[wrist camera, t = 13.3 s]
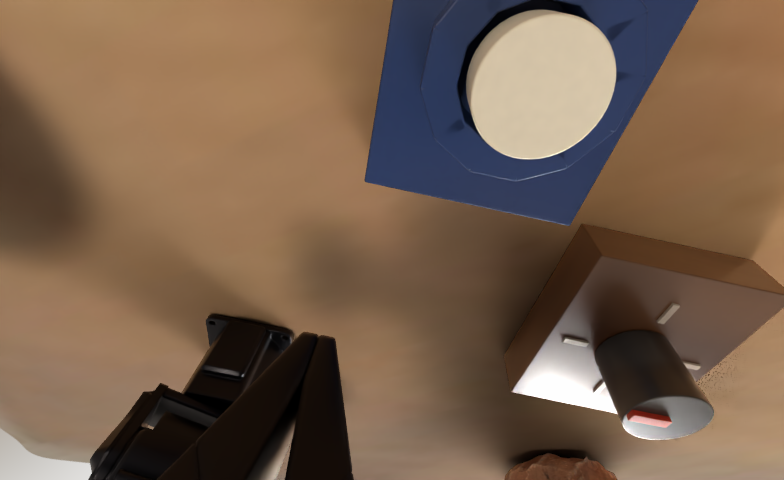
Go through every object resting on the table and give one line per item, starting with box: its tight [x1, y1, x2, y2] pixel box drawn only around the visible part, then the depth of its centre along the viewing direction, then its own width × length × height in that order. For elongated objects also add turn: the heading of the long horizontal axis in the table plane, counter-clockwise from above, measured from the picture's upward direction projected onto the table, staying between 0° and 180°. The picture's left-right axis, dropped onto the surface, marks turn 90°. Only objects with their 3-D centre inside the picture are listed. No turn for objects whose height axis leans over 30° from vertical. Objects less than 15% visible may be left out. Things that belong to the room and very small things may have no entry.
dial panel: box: [504, 224, 784, 413], centre depth 22 cm, size 12×10×3 cm
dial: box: [595, 330, 714, 440], centre depth 20 cm, size 4×4×4 cm
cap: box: [466, 10, 616, 159], centre depth 11 cm, size 4×4×2 cm
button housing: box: [365, 0, 698, 226], centre depth 14 cm, size 12×10×5 cm
